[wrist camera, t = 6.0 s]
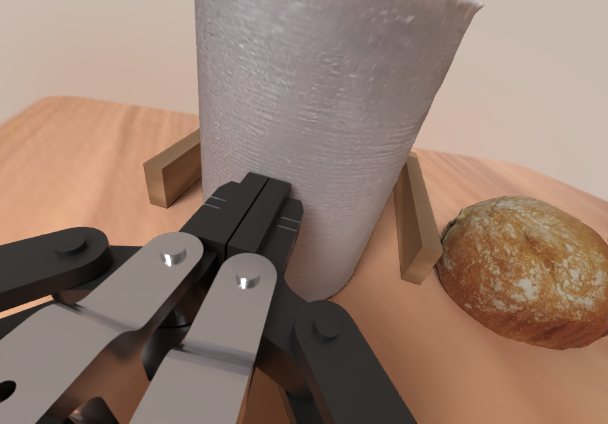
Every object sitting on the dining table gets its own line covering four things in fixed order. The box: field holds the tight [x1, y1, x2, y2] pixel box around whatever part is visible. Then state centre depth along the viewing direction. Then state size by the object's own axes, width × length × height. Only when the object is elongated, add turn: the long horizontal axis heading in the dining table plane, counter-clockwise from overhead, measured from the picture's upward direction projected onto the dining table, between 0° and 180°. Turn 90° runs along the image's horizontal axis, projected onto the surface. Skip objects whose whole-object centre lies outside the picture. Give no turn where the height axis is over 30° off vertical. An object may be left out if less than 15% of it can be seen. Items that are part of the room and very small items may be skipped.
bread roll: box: [436, 196, 608, 350], centre depth 18 cm, size 10×10×8 cm
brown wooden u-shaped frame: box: [143, 128, 443, 285], centre depth 23 cm, size 18×14×3 cm
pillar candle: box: [195, 0, 484, 302], centre depth 13 cm, size 10×10×15 cm
